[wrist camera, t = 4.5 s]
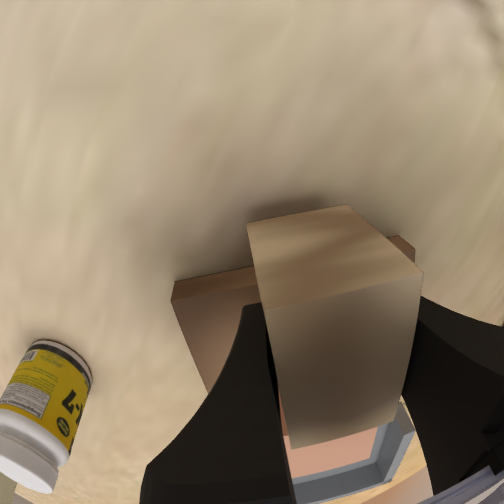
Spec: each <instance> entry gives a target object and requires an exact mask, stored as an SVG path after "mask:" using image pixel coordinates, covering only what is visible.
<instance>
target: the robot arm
mask: <svg viewBox="0 0 504 504" xmlns="http://www.w3.org/2000/svg"><path fill="white" fill-rule="evenodd" d="M401 395H402V397H403V399H404V401H405V403H406V406H407V408H408V411H409V413H410V416H411V418H412V421H413V423H414V426H415V429H416V432H417V434H418V437H419V440H420V443H421V447H422V450H423V453H424V457H425V460H426V463H427V468H428V471H429V476H430V480H431V485H432V490H433V495H434V496H433V497H431V498H428V499H426V500H424V501H422V502H420V503H418V504H464V503H466V502H468V501H469V500H471V499H473V498H475V497H476V496H478V495H479V494H481V493H483V492H484V491H486V490H487V489H489V488H491V487H492V486H494V485H495V484H497V483H498V482H499V481H501V480H502V479H504V327H500V326H497V325H493V324H489V323H485V322H482V321H479V320H476V319H473V318H470V317H467V316H464V315H462V314H459V313H457V312H454V311H452V310H449V309H447V308H445V307H443V306H441V305H438V304H436V303H434V302H432V301H430V300H428V299H426V298H424V297H422V296H421V297H420V304H419V311H418V317H417V323H416V329H415V334H414V340H413V345H412V350H411V355H410V359H409V364H408V368H407V373H406V377H405V381H404V385H403V389H402V393H401ZM139 504H297V502H296V497H295V492H294V487H293V482H292V477H291V472H290V467H289V462H288V457H287V452H286V447H285V442H284V437H283V431H282V424H281V413H280V402H279V392H278V382H277V376H276V371H275V366H274V361H273V356H272V351H271V346H270V341H269V336H268V330H267V325H266V320H265V316H264V311H263V306H262V302H259V303H254V304H249V305H245V306H244V307H243V308H242V313H241V319H240V323H239V327H238V330H237V333H236V336H235V339H234V342H233V345H232V348H231V350H230V353H229V355H228V357H227V360H226V362H225V364H224V366H223V369H222V371H221V373H220V375H219V377H218V378H217V380H216V382H215V384H214V386H213V387H212V389H211V391H210V392H209V394H208V396H207V397H206V399H205V400H204V402H203V403H202V405H201V406H200V408H199V409H198V410H197V412H196V413H195V415H194V416H193V417H192V418H191V420H190V421H189V422H188V423H187V424H186V426H185V427H184V428H183V429H182V430H181V432H180V433H179V434H178V435H177V436H176V438H175V439H174V440H173V441H172V442H171V443H170V444H169V445H168V446H167V447H166V448H165V449H164V450H163V451H162V452H161V453H160V454H159V455H157V456H156V457H155V458H154V459H153V460H152V461H151V462H150V463H149V464H148V465H147V466H146V470H145V474H144V477H143V481H142V485H141V492H140V502H139ZM479 504H504V483H503V484H501V485H500V486H499V487H498V488H497V489H496V490H495V491H494V492H493V493H492V494H490V495H489V496H488V497H487V498H485V499H484V500H483V501H481V502H480V503H479Z"/></svg>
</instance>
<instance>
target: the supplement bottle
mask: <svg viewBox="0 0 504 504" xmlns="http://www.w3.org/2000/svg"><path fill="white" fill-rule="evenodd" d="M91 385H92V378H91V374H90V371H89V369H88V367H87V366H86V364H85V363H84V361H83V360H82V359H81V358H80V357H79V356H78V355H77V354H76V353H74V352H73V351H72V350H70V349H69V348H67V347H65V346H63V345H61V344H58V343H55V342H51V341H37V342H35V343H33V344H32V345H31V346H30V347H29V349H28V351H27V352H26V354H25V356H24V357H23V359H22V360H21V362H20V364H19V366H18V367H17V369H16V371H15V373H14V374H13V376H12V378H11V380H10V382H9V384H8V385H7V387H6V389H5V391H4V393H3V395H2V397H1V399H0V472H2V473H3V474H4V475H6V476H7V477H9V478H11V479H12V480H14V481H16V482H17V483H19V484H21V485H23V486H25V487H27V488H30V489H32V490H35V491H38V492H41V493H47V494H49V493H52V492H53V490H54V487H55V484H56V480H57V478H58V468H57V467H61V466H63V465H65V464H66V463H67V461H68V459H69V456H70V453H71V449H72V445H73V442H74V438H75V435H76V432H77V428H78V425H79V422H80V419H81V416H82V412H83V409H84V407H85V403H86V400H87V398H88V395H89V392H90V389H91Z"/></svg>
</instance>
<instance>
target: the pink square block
mask: <svg viewBox="0 0 504 504" xmlns="http://www.w3.org/2000/svg"><path fill="white" fill-rule="evenodd" d="M278 392H279V391H278ZM279 402H280V413H281V424H282V431H283V437H284V442H285V447H286V452H287V457H288V462H289V467H290V472H291V477H292V478H296V477H301V476H306V475H310V474H315V473H319V472H323V471H327V470H331V469H334V468H338V467H342V466H345V465H349V464H352V463H355V462H359V461H362V460H365V459H368V458H370V454H371V451H372V447H373V443H374V440H375V436H376V432H377V428H378V427H375V428H372V429H369V430H366V431H363V432H359V433H356V434H353V435H349V436H346V437H342V438H339V439H335V440H331V441H327V442H323V443H319V444H315V445H311V446H307V447H302V448H298V449H293V450H291V446H290V441H289V436H288V431H287V426H286V422H285V417H284V412H283V407H282V402H281V397H280V393H279Z"/></svg>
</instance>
